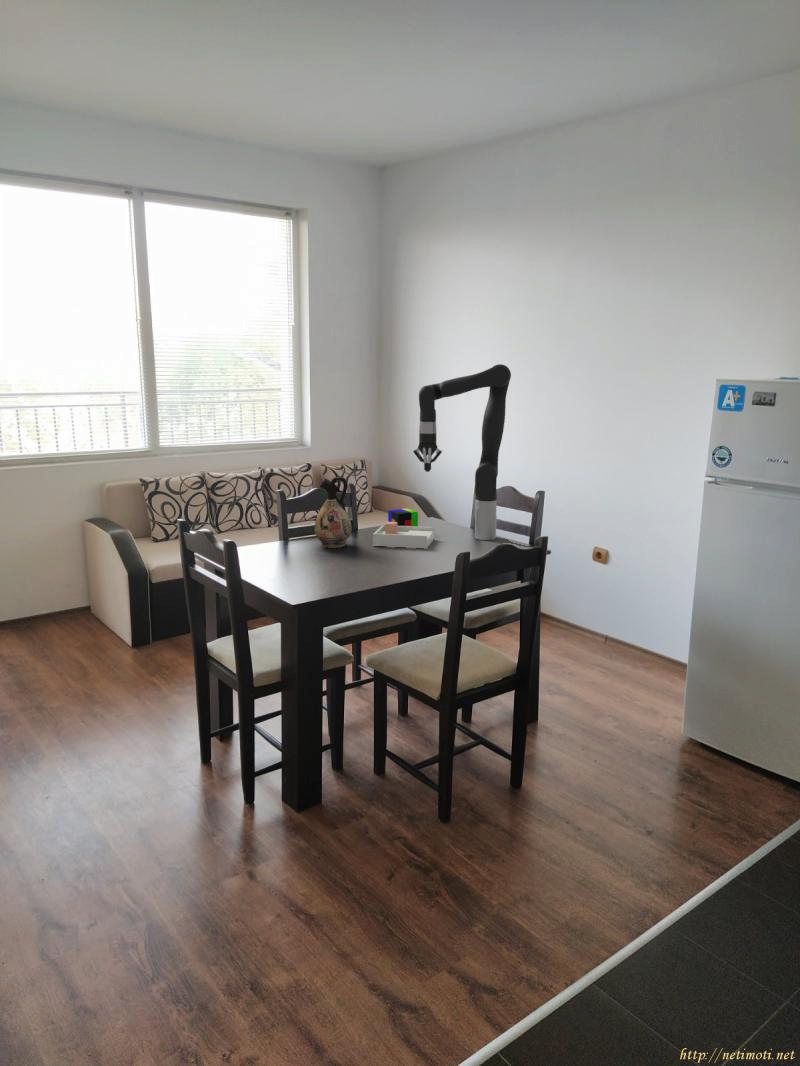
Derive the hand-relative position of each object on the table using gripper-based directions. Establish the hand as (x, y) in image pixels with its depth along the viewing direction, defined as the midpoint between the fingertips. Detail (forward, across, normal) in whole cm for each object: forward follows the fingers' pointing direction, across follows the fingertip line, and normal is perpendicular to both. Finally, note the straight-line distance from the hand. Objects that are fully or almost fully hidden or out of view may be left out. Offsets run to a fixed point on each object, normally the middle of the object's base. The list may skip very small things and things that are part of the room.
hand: (427, 471), depth 337 cm
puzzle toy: (+29, +12, -5) cm, 32 cm away
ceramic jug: (+29, +35, +27) cm, 53 cm away
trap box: (+29, +8, +16) cm, 34 cm away
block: (+25, +13, +16) cm, 32 cm away
